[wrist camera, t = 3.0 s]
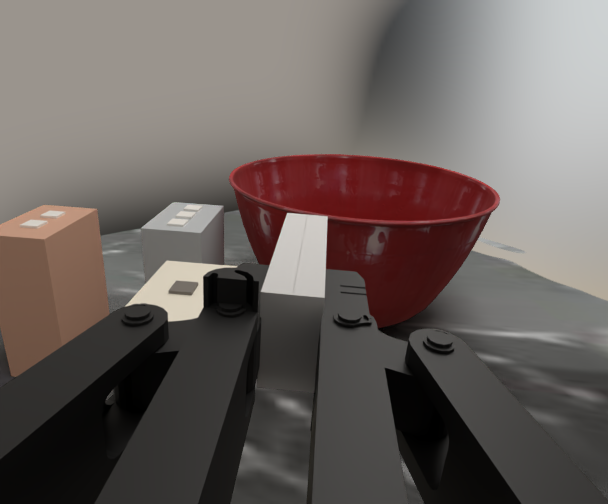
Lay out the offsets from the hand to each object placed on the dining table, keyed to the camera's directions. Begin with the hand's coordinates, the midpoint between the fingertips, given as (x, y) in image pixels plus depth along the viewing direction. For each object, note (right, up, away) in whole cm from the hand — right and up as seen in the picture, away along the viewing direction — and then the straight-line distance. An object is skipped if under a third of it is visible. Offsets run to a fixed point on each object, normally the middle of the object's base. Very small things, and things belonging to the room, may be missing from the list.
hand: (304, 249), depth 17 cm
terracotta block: (-22, -10, +25) cm, 35 cm away
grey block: (-11, -9, +28) cm, 32 cm away
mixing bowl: (+5, -6, +38) cm, 39 cm away
